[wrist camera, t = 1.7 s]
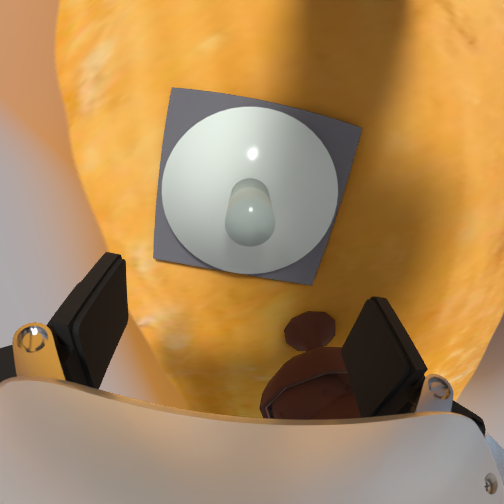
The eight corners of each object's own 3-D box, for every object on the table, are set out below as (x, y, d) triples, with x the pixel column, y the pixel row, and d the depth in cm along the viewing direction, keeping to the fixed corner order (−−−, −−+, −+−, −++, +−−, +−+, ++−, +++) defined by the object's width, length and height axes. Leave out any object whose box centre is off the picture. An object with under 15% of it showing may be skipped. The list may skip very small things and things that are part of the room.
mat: (173, 87, 18) (171, 87, 17) (359, 127, 19) (362, 127, 18) (155, 254, 24) (153, 258, 24) (310, 281, 26) (311, 285, 25)
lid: (177, 94, 17) (151, 90, 12) (354, 132, 19) (389, 142, 14) (159, 254, 23) (137, 295, 18) (308, 279, 25) (321, 324, 20)
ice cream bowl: (237, 319, 28) (231, 465, 14) (343, 270, 25) (407, 414, 12) (283, 374, 32) (294, 490, 19) (370, 338, 30) (413, 453, 16)
